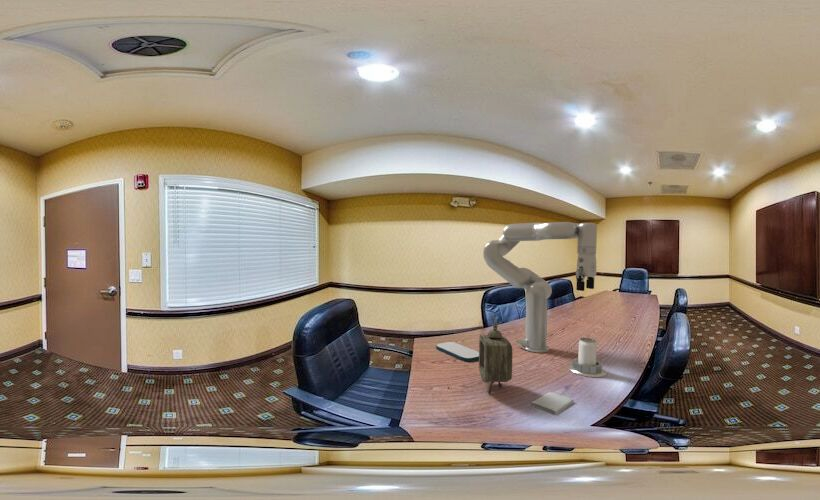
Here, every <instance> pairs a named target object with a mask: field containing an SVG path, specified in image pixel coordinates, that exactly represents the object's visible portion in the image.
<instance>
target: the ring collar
mask: <svg viewBox="0 0 820 500" xmlns="http://www.w3.org/2000/svg"><path fill="white" fill-rule="evenodd" d="M567 369H568V370H569V372H571V373H573V374H575V375H579V376H583V377H586V378H594V379H596V378H597V379H599V378H605V377H606V376H607V375H608V371H607V370H606V369H604V368H603V363H602V362H601V361H599V360H597V359H596V366H588V365H583V364H580V363H578V357H576V358H573V360H572V363H570V364H569V365H568V366H567Z"/></svg>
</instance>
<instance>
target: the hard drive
mask: <svg viewBox="0 0 820 500" xmlns="http://www.w3.org/2000/svg"><path fill="white" fill-rule="evenodd" d="M574 401H575V400H574V399H573V398H570V397H568V396H565V395H562V394H558V393H556V392H553V391H549V392H547V393H545V394H543V395H542V396H540V397H538V398H537V399H535V400H534V401H532V402H531V403H530V406H532V407H535V408H537V409H540V410H542V411H546V412H548V413H550V414H552V415H558V414H559V413H561V412H563V410H565V409H566V408H568V407H570V406H571V405H572V404H573V403H574Z"/></svg>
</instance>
